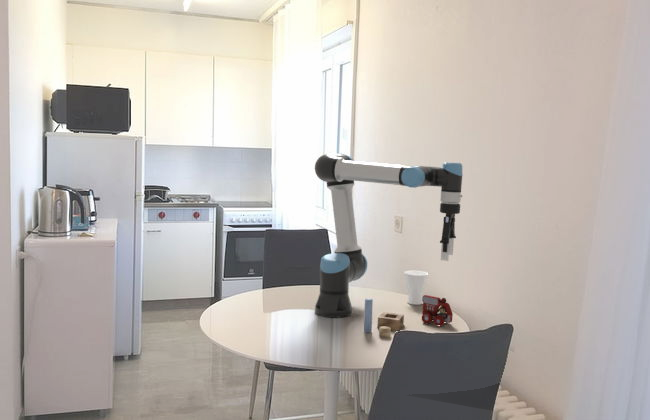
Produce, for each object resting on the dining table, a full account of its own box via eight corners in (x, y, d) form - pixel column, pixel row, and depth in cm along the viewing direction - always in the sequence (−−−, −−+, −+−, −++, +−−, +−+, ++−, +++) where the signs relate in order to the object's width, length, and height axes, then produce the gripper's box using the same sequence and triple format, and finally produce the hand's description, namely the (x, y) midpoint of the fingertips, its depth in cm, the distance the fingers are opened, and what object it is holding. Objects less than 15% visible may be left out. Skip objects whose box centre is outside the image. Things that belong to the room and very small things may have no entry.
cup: (430, 302, 251) (432, 272, 250) (421, 307, 242) (422, 276, 241) (408, 298, 257) (410, 269, 256) (398, 303, 248) (400, 273, 247)
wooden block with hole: (377, 327, 212) (377, 317, 212) (383, 322, 220) (383, 312, 219) (398, 330, 210) (398, 320, 209) (403, 324, 217) (403, 314, 217)
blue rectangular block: (362, 332, 207) (363, 299, 206) (365, 330, 209) (366, 298, 208) (370, 333, 206) (371, 300, 205) (372, 331, 208) (373, 299, 207)
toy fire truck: (447, 328, 214) (448, 301, 213) (417, 322, 221) (418, 295, 220) (454, 324, 220) (456, 298, 219) (425, 318, 227) (426, 292, 226)
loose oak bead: (377, 337, 202) (378, 328, 202) (380, 333, 206) (381, 325, 206) (388, 338, 201) (389, 330, 200) (391, 335, 204) (391, 327, 204)
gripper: (456, 206, 205) (452, 263, 208) (463, 201, 229) (460, 253, 231) (435, 204, 208) (432, 261, 210) (445, 199, 231) (441, 251, 233)
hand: (446, 257), depth 220 cm, fingers open, 13 cm apart
